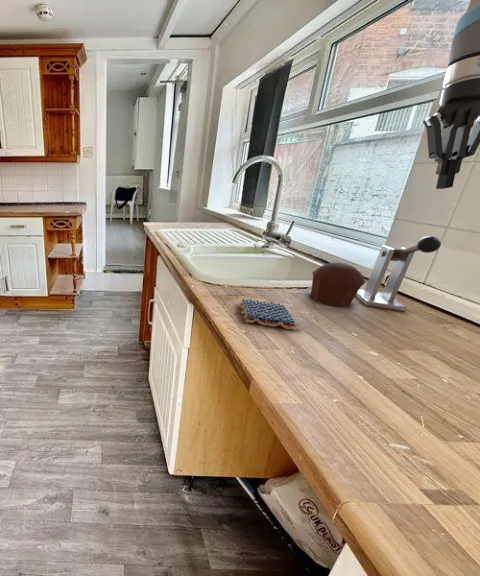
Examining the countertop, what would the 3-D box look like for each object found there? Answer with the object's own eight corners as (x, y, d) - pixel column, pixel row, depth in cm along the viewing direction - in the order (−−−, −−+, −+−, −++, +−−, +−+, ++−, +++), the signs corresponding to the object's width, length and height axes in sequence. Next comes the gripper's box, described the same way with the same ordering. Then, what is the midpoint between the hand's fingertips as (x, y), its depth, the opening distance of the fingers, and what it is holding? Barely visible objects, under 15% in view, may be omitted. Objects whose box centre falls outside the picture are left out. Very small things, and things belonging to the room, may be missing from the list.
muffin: (302, 289, 90) (313, 256, 86) (348, 296, 86) (361, 262, 82) (309, 303, 80) (321, 267, 76) (362, 312, 76) (377, 274, 72)
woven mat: (244, 323, 68) (246, 315, 67) (238, 304, 77) (239, 297, 77) (296, 331, 65) (299, 323, 65) (283, 311, 75) (286, 303, 74)
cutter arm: (444, 251, 65) (446, 235, 65) (422, 249, 66) (425, 233, 66) (399, 263, 79) (401, 250, 79) (382, 261, 80) (384, 248, 81)
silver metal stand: (404, 311, 78) (429, 255, 72) (365, 305, 80) (387, 250, 75) (385, 297, 86) (407, 246, 81) (351, 292, 89) (370, 242, 84)
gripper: (445, 78, 70) (423, 185, 74) (519, 72, 67) (492, 185, 71) (420, 93, 77) (401, 190, 81) (486, 89, 74) (463, 190, 78)
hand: (444, 187), depth 76 cm, fingers closed
